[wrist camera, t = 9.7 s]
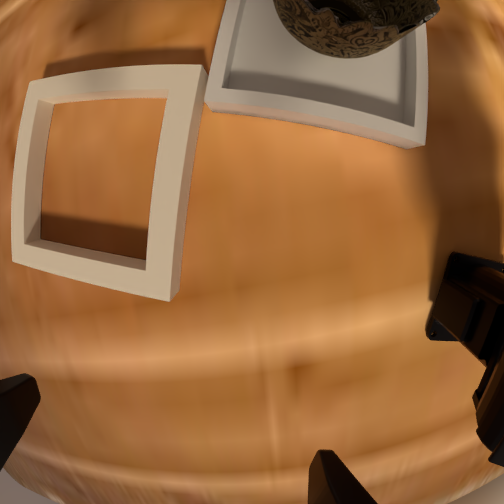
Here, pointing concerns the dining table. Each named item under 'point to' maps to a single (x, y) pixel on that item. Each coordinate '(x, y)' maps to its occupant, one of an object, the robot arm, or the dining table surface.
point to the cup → (352, 23)
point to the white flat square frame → (164, 186)
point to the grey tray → (317, 79)
